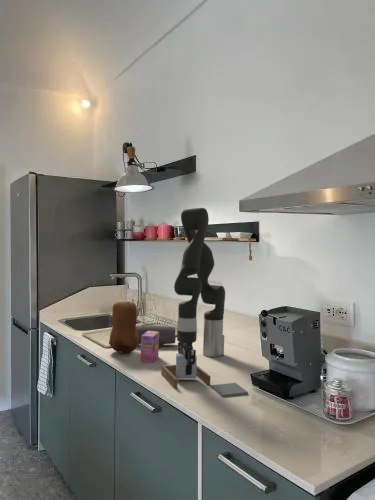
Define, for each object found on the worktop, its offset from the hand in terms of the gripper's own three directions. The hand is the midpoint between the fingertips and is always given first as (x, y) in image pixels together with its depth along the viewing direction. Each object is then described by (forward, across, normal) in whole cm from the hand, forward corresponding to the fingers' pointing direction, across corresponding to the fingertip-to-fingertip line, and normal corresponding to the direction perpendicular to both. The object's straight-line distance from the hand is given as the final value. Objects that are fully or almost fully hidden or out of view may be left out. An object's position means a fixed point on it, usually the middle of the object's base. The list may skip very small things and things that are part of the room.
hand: (185, 372), depth 160 cm
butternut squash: (+3, +45, +15) cm, 47 cm away
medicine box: (+2, 0, 0) cm, 2 cm away
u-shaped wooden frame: (+3, 0, 0) cm, 3 cm away
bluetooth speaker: (+4, +55, -2) cm, 55 cm away
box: (+3, +31, +6) cm, 32 cm away
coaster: (+3, -15, -11) cm, 19 cm away
